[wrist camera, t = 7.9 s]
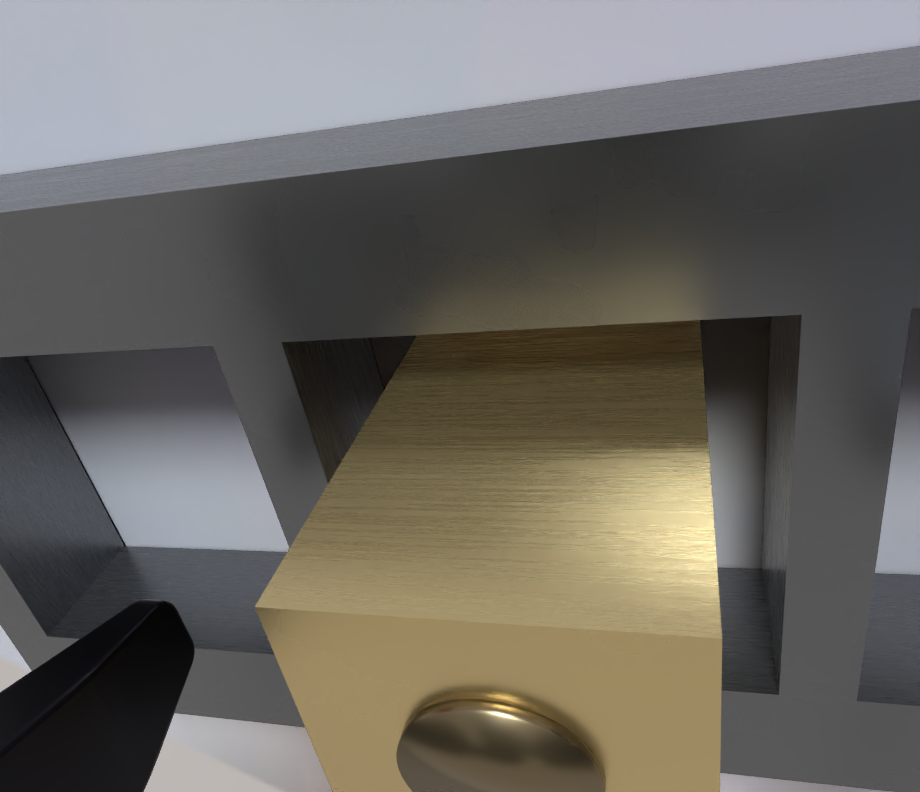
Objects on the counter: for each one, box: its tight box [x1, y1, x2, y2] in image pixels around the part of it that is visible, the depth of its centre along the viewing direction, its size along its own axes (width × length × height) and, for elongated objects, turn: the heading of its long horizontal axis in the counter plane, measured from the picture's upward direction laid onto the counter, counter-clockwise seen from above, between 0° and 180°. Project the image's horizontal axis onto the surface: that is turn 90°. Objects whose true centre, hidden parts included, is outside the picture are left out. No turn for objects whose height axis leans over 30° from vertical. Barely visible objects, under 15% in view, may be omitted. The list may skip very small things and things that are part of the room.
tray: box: [0, 46, 920, 792], centre depth 11 cm, size 22×10×2 cm, turn 99°
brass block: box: [255, 320, 722, 792], centre depth 10 cm, size 4×4×6 cm
